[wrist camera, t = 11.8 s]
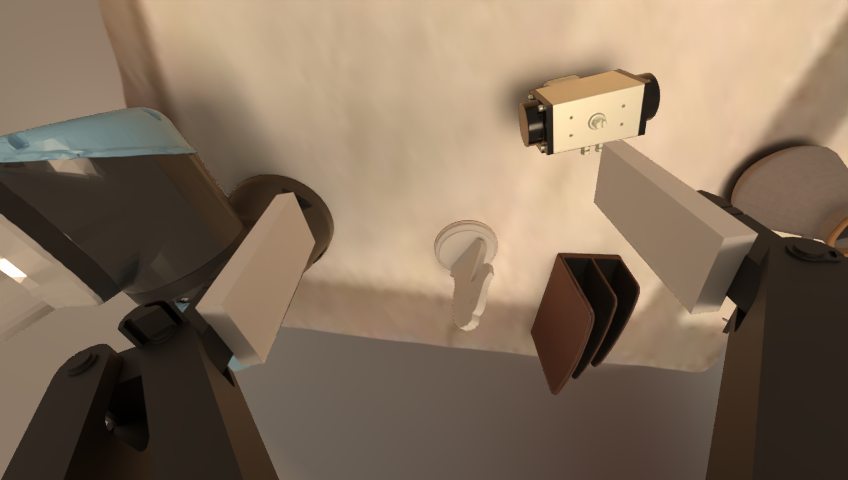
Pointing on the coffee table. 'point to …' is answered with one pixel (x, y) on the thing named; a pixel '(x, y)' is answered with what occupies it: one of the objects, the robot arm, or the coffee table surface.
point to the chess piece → (468, 267)
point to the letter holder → (582, 314)
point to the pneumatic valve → (588, 111)
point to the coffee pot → (798, 194)
